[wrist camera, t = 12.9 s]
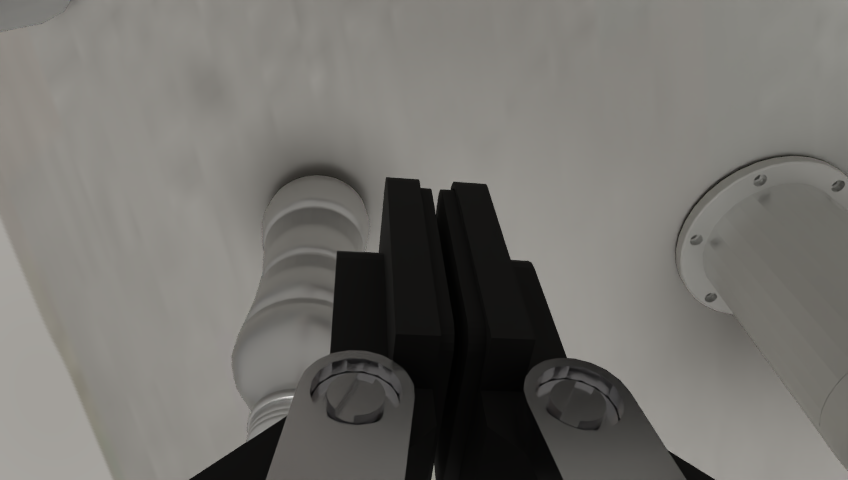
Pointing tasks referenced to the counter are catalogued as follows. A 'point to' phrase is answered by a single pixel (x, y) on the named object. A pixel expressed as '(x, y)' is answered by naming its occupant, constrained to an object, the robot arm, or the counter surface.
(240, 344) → the plastic bottle
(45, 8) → the salt shaker
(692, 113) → the counter surface
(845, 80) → the counter surface
